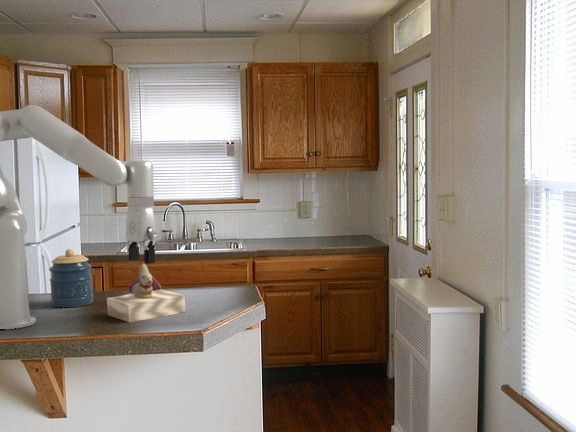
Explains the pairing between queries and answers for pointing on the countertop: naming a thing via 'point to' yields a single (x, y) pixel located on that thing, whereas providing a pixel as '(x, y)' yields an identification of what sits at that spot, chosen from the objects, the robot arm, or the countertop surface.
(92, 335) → the countertop surface
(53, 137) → the robot arm
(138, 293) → the chocolate bunny
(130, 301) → the birch riser
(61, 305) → the canister
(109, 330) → the countertop surface
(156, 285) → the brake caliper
